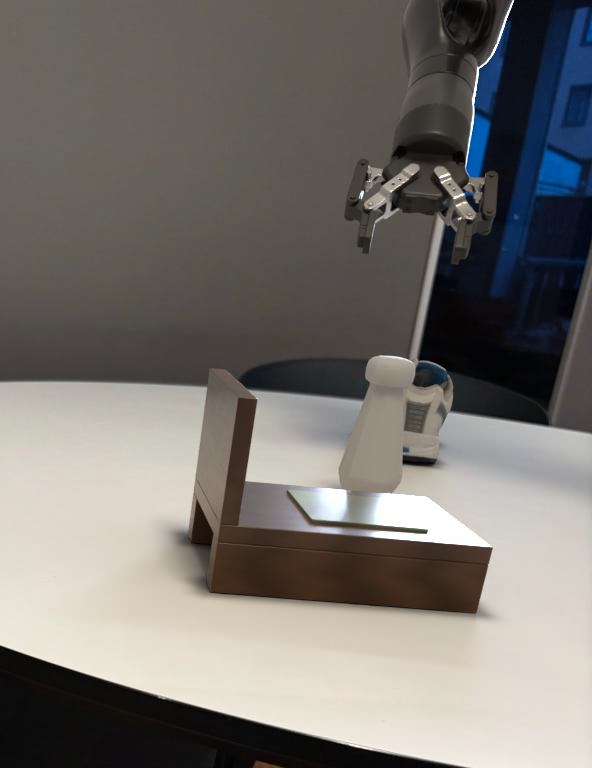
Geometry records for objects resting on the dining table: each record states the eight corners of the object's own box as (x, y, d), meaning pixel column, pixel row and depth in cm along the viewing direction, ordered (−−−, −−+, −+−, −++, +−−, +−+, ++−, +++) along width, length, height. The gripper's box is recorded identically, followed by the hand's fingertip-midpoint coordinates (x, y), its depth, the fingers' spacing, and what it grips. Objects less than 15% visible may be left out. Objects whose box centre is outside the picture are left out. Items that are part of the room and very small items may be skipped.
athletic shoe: (431, 432, 134) (428, 339, 129) (471, 472, 113) (470, 363, 108) (353, 441, 135) (348, 350, 131) (379, 483, 114) (374, 375, 110)
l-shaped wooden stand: (414, 553, 79) (450, 391, 75) (476, 613, 67) (524, 423, 63) (187, 535, 78) (209, 367, 73) (210, 592, 66) (238, 396, 61)
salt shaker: (330, 487, 98) (355, 350, 93) (389, 494, 98) (417, 356, 93) (339, 502, 93) (367, 357, 88) (402, 509, 93) (432, 364, 88)
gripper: (367, 95, 102) (340, 214, 96) (514, 107, 99) (497, 230, 93) (358, 157, 109) (333, 272, 103) (496, 170, 106) (478, 289, 100)
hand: (411, 252), depth 98 cm, fingers open, 8 cm apart
